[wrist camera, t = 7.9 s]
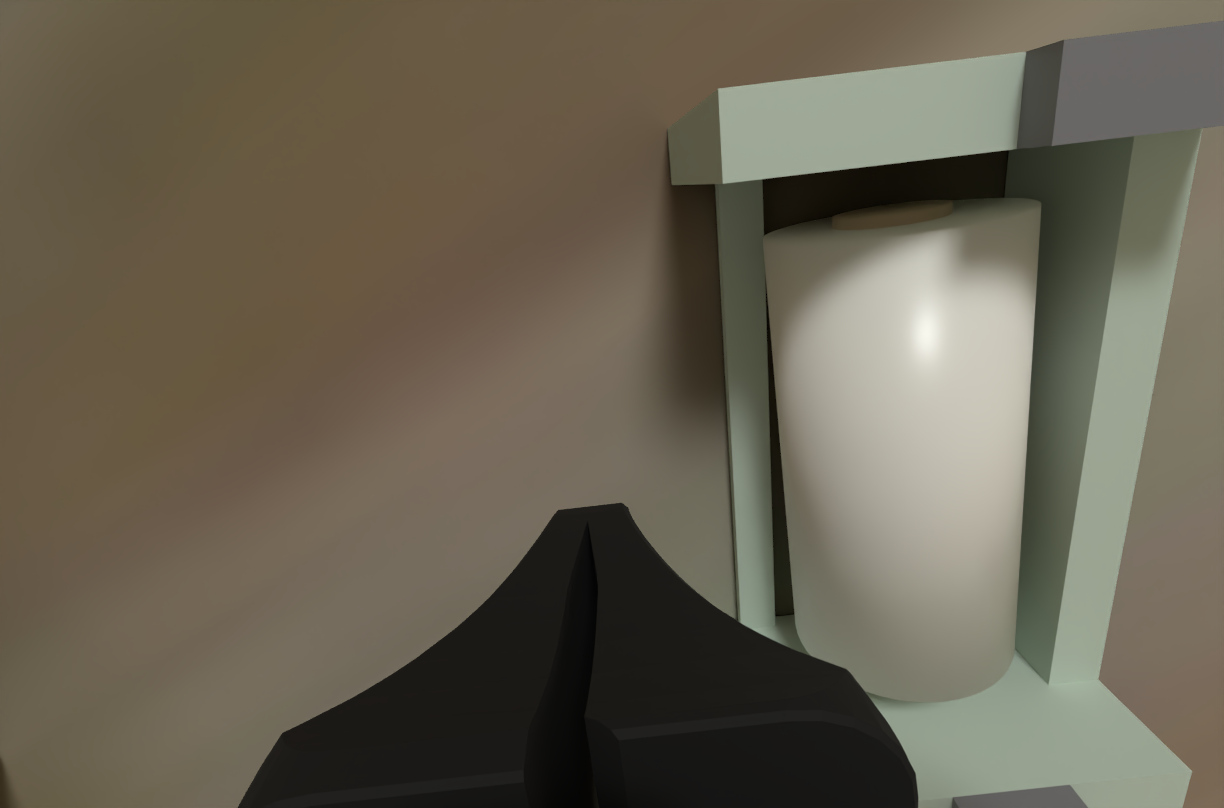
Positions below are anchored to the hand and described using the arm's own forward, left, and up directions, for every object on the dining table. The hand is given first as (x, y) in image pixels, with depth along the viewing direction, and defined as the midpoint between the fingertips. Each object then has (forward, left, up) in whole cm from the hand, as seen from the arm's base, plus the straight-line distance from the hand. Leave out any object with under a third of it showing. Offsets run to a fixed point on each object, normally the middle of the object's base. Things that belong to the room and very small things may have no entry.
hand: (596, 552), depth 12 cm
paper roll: (0, -7, -3) cm, 7 cm away
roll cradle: (0, -7, -5) cm, 9 cm away
